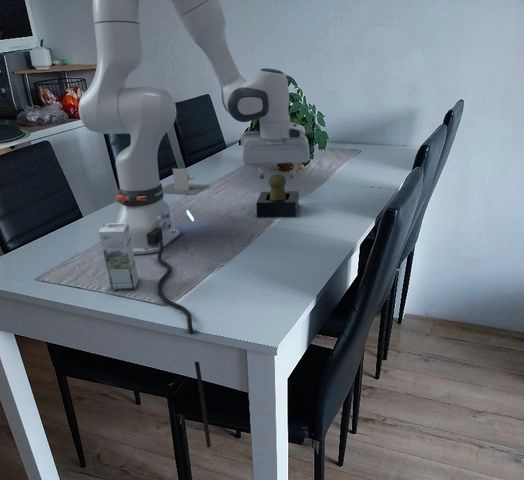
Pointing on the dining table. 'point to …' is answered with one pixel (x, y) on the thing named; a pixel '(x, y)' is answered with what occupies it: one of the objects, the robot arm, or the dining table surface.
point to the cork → (277, 187)
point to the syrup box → (119, 255)
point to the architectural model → (182, 183)
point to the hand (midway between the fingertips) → (277, 177)
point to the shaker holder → (278, 205)
